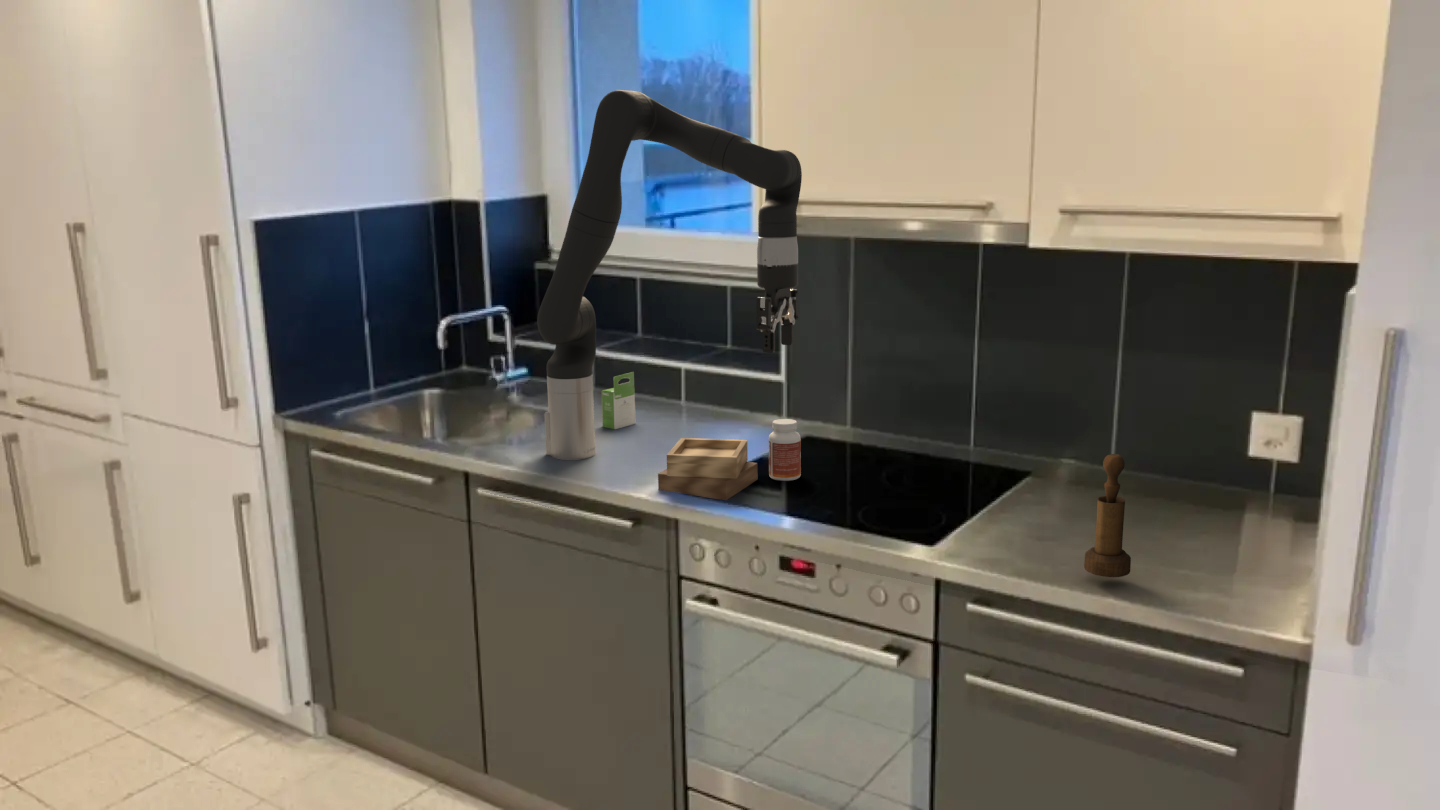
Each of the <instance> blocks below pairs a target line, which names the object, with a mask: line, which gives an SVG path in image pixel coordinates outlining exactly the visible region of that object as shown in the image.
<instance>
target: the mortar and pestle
mask: <svg viewBox="0 0 1440 810" xmlns="http://www.w3.org/2000/svg"><path fill="white" fill-rule="evenodd" d="M1125 465H1126V463H1125V459H1124V458H1123V456H1121V455H1120V454H1118V453H1111V454H1108V455H1106V456H1105V457H1104V459H1103V461H1102V466H1103V468H1104V471H1105V473H1106V475H1107V480H1106V481H1105V482H1104V483H1103V487H1104V493H1105V495H1102V496H1099V497H1098V498H1097V502H1096V503H1097V506H1096V524H1095V525H1096V527H1095V537H1094V538H1095V539H1094V540H1095V541H1094V546H1093V547H1091V548H1089V549H1088V550H1087V551H1086V552H1085V553H1084V563H1083V564H1084V565H1083V566H1084V570H1085V571H1086V572H1088V573H1090V574H1093V575H1095V576H1099V577H1106V578H1122V577H1125V576H1127V575H1129V574H1131V567H1132V566H1131V561H1132V558H1131V556H1130V554H1128V553H1127V552H1126V551H1125V550H1124V549H1123V539H1124V521H1125V509H1126V506H1125V505H1126V500H1125V498H1124V497H1121V496H1118V495H1119V492H1120V489H1121V488H1120V487H1121V483H1119V482H1118V481H1119V480H1118V478H1119V477H1120V474H1121V473H1122V472H1123V471H1124V468H1125Z"/></svg>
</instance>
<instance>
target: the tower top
mask: <svg viewBox="0 0 1440 810" xmlns="http://www.w3.org/2000/svg"><path fill="white" fill-rule="evenodd" d="M748 449H749V448H748V439H731V438H730V439H727V438H726V439H725V438H697V437H696V438H695V437H680V438H679V439H678V441H677V442H676V443H675V444H674V446H673V447H672V448H671V449H670V450H669V451H668V453H666V469H667V476H680V477H707V478H733V479H737V477H738V476H739V474H740V472H741V470H742V469H743V467H744V465H745V464H746V462H748V459H749V458H748V455H749V454H748Z"/></svg>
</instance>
